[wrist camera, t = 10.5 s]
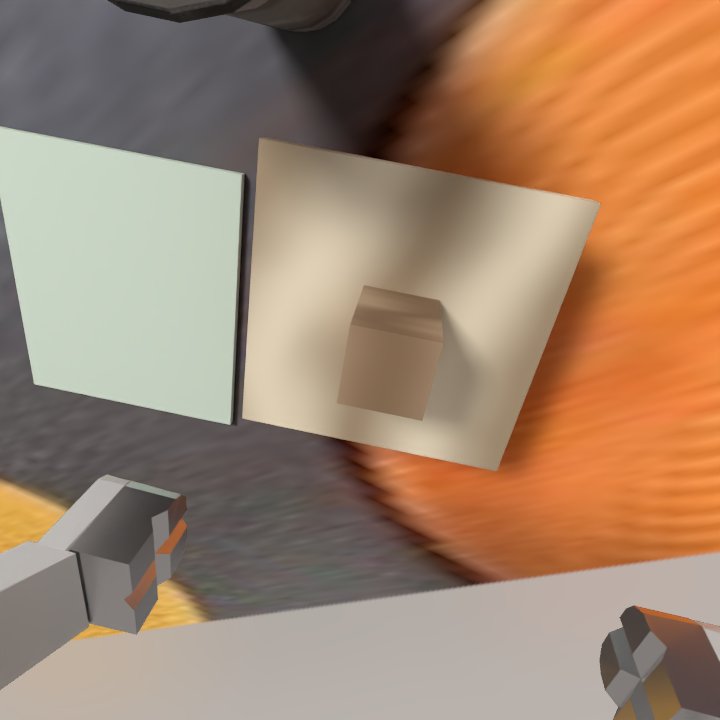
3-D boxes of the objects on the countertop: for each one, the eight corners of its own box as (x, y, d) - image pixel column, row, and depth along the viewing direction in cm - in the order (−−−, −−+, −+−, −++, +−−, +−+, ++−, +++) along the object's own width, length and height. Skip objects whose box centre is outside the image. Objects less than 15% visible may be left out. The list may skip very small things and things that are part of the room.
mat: (244, 173, 22) (241, 174, 21) (232, 421, 28) (230, 424, 28) (-6, 125, 22) (-13, 125, 22) (39, 380, 29) (34, 384, 28)
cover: (593, 199, 17) (650, 227, 13) (494, 460, 22) (511, 539, 18) (265, 137, 17) (214, 143, 13) (247, 409, 23) (207, 475, 19)
